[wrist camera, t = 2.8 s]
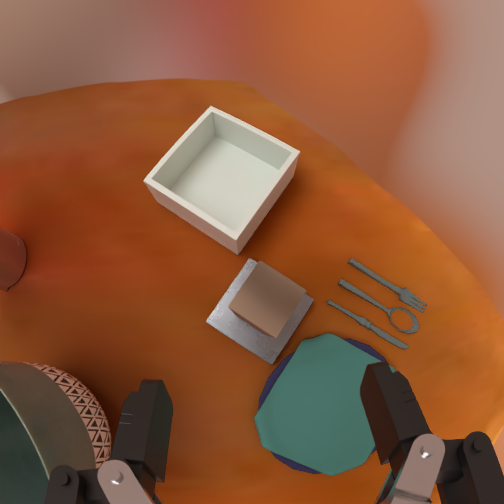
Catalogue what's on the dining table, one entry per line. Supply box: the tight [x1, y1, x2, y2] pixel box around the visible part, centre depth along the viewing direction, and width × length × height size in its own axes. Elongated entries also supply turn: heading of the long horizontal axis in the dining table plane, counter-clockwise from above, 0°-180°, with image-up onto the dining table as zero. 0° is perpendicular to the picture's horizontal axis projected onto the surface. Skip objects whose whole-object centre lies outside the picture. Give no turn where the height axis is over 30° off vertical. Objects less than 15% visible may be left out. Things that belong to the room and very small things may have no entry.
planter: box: [0, 361, 111, 504], centre depth 25 cm, size 20×20×21 cm
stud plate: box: [206, 258, 314, 365], centre depth 37 cm, size 10×10×5 cm
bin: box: [143, 106, 300, 255], centre depth 41 cm, size 15×15×7 cm
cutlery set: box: [254, 258, 427, 476], centre depth 37 cm, size 20×30×2 cm, turn 149°
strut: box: [228, 260, 307, 338], centre depth 31 cm, size 4×4×15 cm
